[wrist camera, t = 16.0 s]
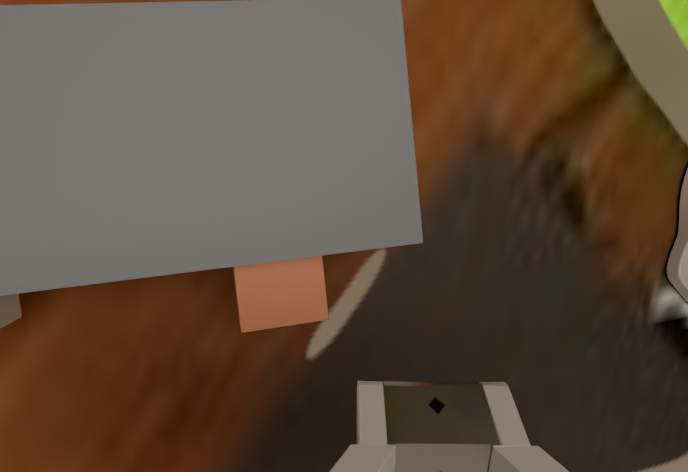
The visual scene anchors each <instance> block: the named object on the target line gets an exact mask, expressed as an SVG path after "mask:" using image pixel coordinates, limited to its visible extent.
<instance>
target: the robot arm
mask: <svg viewBox="0 0 688 472" xmlns="http://www.w3.org/2000/svg"><path fill="white" fill-rule="evenodd" d="M667 276H668V278H669V280H670V282H671V283H672V285H673V286H674V287H675V288H676V289H677V291H678V292H679V293H680V294H681V295H682V296H683V298H684V299H685V300H686V301H687V302H688V169H687V171H686V174H685V177H684V181H683V185H682V190H681V196H680V209H679V230H678V236H677V238H676V241H675V243H674V246H673V248H672V251H671V254H670V257H669V260H668V264H667ZM329 472H569V471H568V470H567V469H565V468H564V467H563V466H562V465H561V464H559V463H558V462H557V461H556V460H555V459H553V458H552V457H551V456H550V455H549V454H547V453H546V452H545V451H544V450H543V449H541V448H540V447H539V446H531V445H530V443H529V440H528V437H527V435H526V432H525V429H524V427H523V424H522V421H521V418H520V416H519V413H518V410H517V408H516V405H515V402H514V400H513V397H512V394H511V392H510V389H509V386H508V385H507V384H506V383H505V382H480V383H478V382H430V383H429V382H397V381H383V382H378V381H358V382H357V415H356V444H351V445H350V446H349V447H348V448H347V450H346V451H345V452H344V453H343V455H342V456H341V457H340V458H339V460H338V461H337V462H336V464H335V465H334V466H333V467H332V469H331V470H330V471H329Z"/></svg>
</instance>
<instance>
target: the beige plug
mask: <svg viewBox="0 0 688 472" xmlns="http://www.w3.org/2000/svg"><path fill="white" fill-rule="evenodd" d="M21 317H22V314H21V307H20V300H19V294H11V295H3V296H0V329H1V328H2V327H4V326H6V325H8V324H10V323H12V322H14V321H15V320H17V319H19V318H21Z"/></svg>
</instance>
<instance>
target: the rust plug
mask: <svg viewBox="0 0 688 472" xmlns="http://www.w3.org/2000/svg"><path fill="white" fill-rule="evenodd" d="M232 268H233V276H234V285H235V293H236V302H237V310H238V318H239V323H240V328H241V333H244V332H250V331H257V330H264V329H270V328H277V327H283V326H290V325H296V324H303V323H309V322H316V321H323V320H329V317H328V307H327V298H326V288H325V279H324V269H323V260H322V256H314V257H306V258H298V259H290V260H282V261H274V262H266V263H258V264H250V265H242V266H234V267H232Z"/></svg>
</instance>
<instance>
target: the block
mask: <svg viewBox="0 0 688 472" xmlns="http://www.w3.org/2000/svg"><path fill="white" fill-rule="evenodd" d="M418 243H423V234H422V224H421V213H420V202H419V191H418V180H417V170H416V159H415V148H414V137H413V126H412V115H411V105H410V94H409V83H408V72H407V61H406V50H405V40H404V29H403V18H402V7H401V0H250V1H197V2H144V3H91V4H38V5H0V296H3V295H11V294H19V293H27V292H35V291H43V290H51V289H59V288H67V287H75V286H83V285H91V284H99V283H106V282H114V281H122V280H130V279H138V278H146V277H154V276H162V275H170V274H178V273H186V272H194V271H202V270H210V269H218V268H226V267H234V266H242V265H250V264H258V263H266V262H274V261H282V260H290V259H298V258H306V257H314V256H322V255H330V254H338V253H346V252H354V251H362V250H370V249H378V248H386V247H394V246H402V245H410V244H418Z"/></svg>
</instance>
